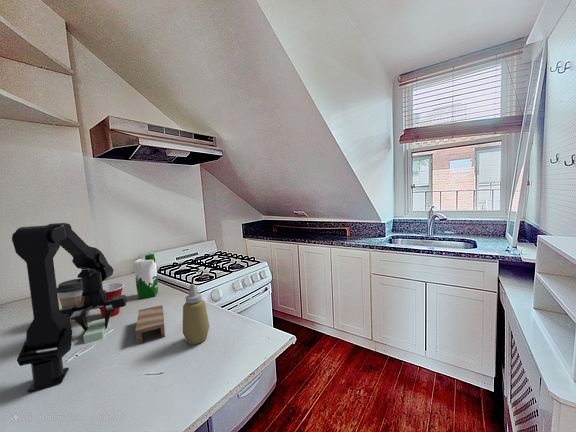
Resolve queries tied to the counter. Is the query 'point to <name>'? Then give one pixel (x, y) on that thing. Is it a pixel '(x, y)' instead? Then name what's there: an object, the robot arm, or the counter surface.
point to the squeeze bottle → (195, 318)
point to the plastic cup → (111, 292)
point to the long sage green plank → (95, 331)
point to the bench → (149, 321)
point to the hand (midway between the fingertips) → (97, 330)
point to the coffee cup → (71, 294)
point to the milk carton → (146, 277)
